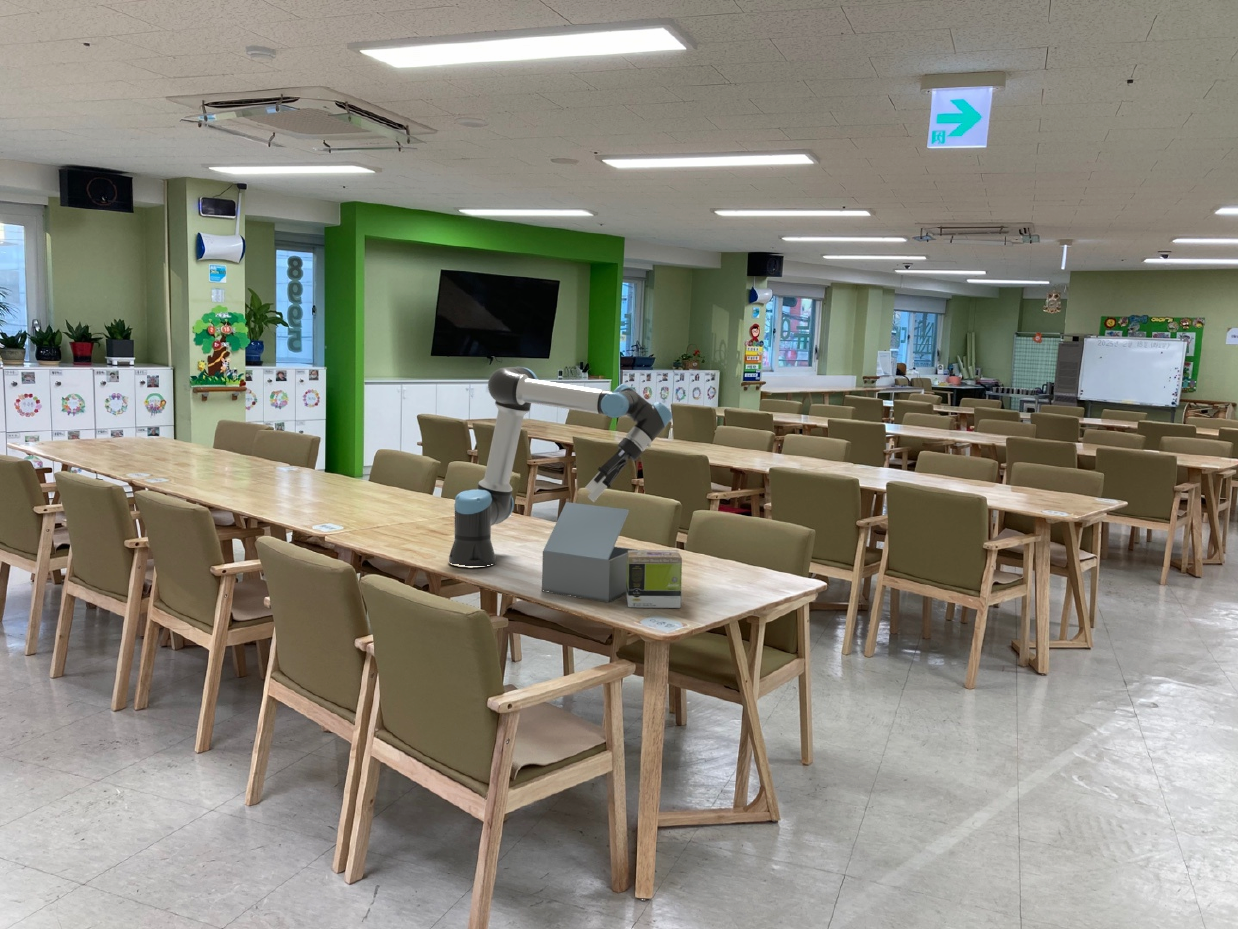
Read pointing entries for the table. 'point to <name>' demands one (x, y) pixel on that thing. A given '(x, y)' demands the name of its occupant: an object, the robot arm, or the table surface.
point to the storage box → (586, 575)
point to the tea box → (654, 578)
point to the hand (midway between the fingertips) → (589, 495)
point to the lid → (586, 531)
